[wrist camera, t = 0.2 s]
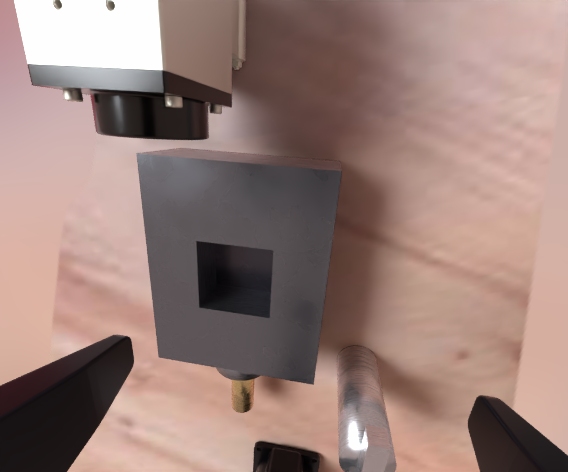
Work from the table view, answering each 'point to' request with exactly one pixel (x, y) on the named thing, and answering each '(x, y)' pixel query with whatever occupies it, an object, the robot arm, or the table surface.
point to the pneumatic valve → (138, 60)
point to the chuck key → (362, 414)
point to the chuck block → (239, 260)
